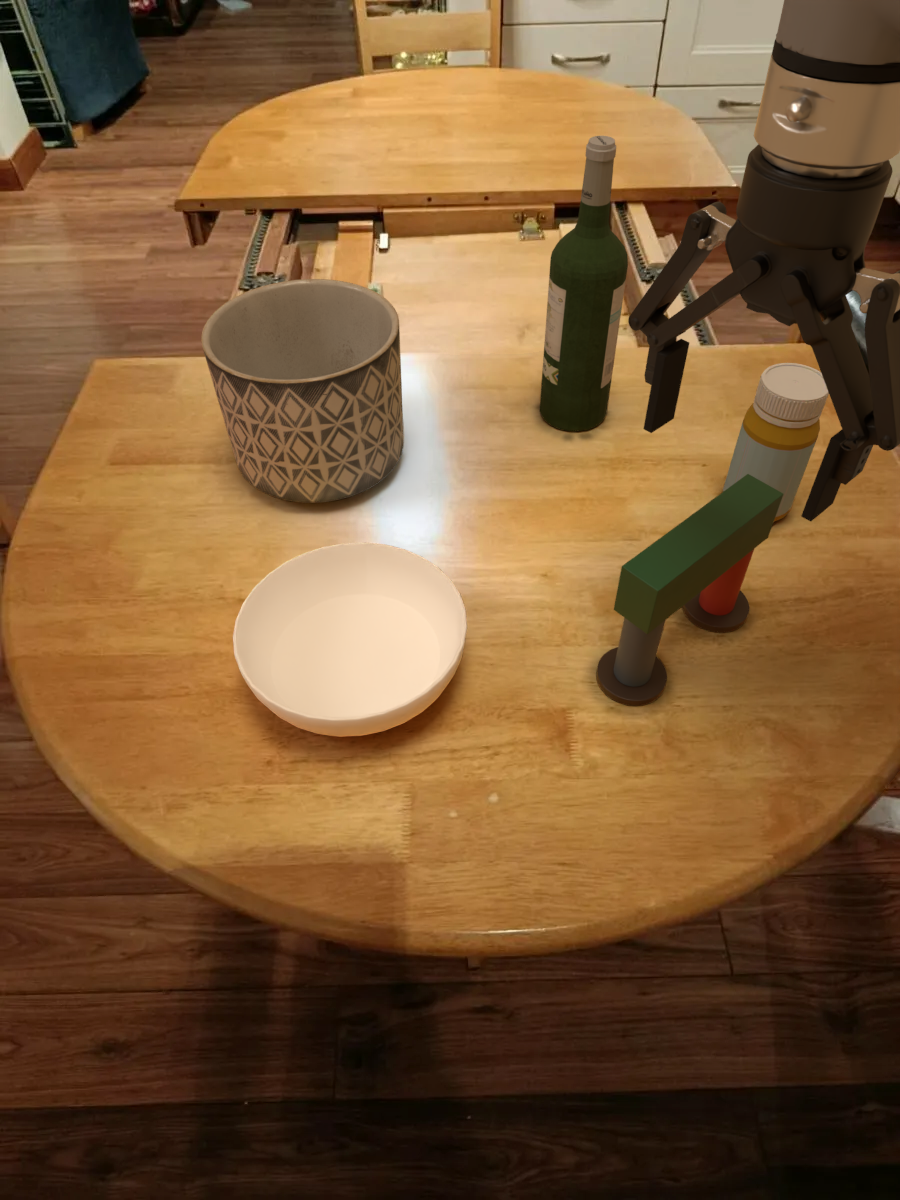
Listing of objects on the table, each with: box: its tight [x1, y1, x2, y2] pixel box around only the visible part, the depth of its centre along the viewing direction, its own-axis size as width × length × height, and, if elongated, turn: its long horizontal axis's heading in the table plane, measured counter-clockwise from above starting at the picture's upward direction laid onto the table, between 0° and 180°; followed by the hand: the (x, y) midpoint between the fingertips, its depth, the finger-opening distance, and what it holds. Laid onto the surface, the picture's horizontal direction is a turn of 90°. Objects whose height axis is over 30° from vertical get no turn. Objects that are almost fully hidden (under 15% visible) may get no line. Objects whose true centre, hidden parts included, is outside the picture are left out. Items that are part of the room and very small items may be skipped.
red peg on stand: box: [681, 549, 755, 634], centre depth 76 cm, size 6×6×9 cm
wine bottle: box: [539, 135, 629, 433], centre depth 89 cm, size 8×8×30 cm
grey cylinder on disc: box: [595, 617, 668, 707], centre depth 71 cm, size 6×6×9 cm
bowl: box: [232, 541, 468, 738], centre depth 73 cm, size 20×20×6 cm
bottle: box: [722, 362, 830, 522], centre depth 83 cm, size 7×7×15 cm
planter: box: [200, 278, 405, 504], centre depth 89 cm, size 19×19×16 cm
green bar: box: [613, 474, 783, 634], centre depth 68 cm, size 4×16×5 cm, turn 132°
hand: (733, 464), depth 61 cm, fingers open, 13 cm apart
